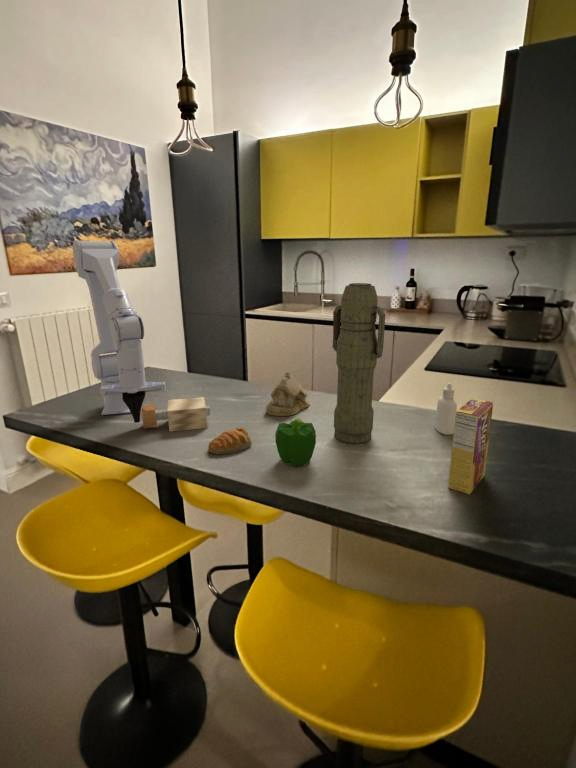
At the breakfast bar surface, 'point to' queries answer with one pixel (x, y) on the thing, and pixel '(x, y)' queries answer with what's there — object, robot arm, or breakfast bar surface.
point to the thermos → (356, 361)
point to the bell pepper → (295, 442)
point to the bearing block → (187, 414)
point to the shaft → (157, 415)
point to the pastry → (230, 441)
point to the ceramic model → (287, 397)
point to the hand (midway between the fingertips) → (137, 421)
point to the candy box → (470, 445)
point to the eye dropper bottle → (446, 411)
